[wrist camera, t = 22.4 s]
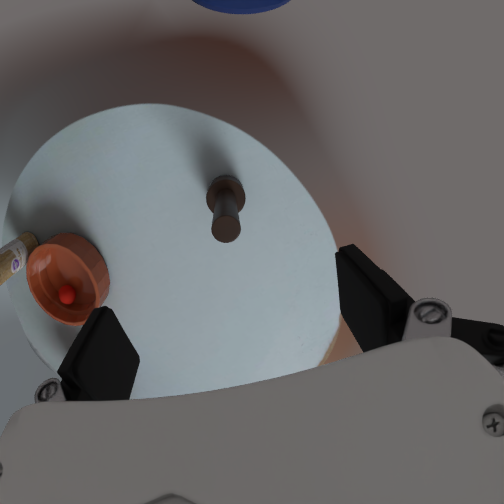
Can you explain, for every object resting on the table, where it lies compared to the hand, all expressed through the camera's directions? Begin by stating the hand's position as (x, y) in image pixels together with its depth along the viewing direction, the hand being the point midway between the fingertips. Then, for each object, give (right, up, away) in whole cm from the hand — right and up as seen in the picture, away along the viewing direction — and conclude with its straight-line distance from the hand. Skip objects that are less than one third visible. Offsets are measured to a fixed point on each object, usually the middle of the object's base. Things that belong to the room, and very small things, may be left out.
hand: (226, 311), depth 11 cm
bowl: (-26, -1, +26) cm, 37 cm away
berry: (-27, -4, +25) cm, 38 cm away
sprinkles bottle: (-35, +4, +24) cm, 42 cm away
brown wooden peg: (-2, +10, +24) cm, 26 cm away
